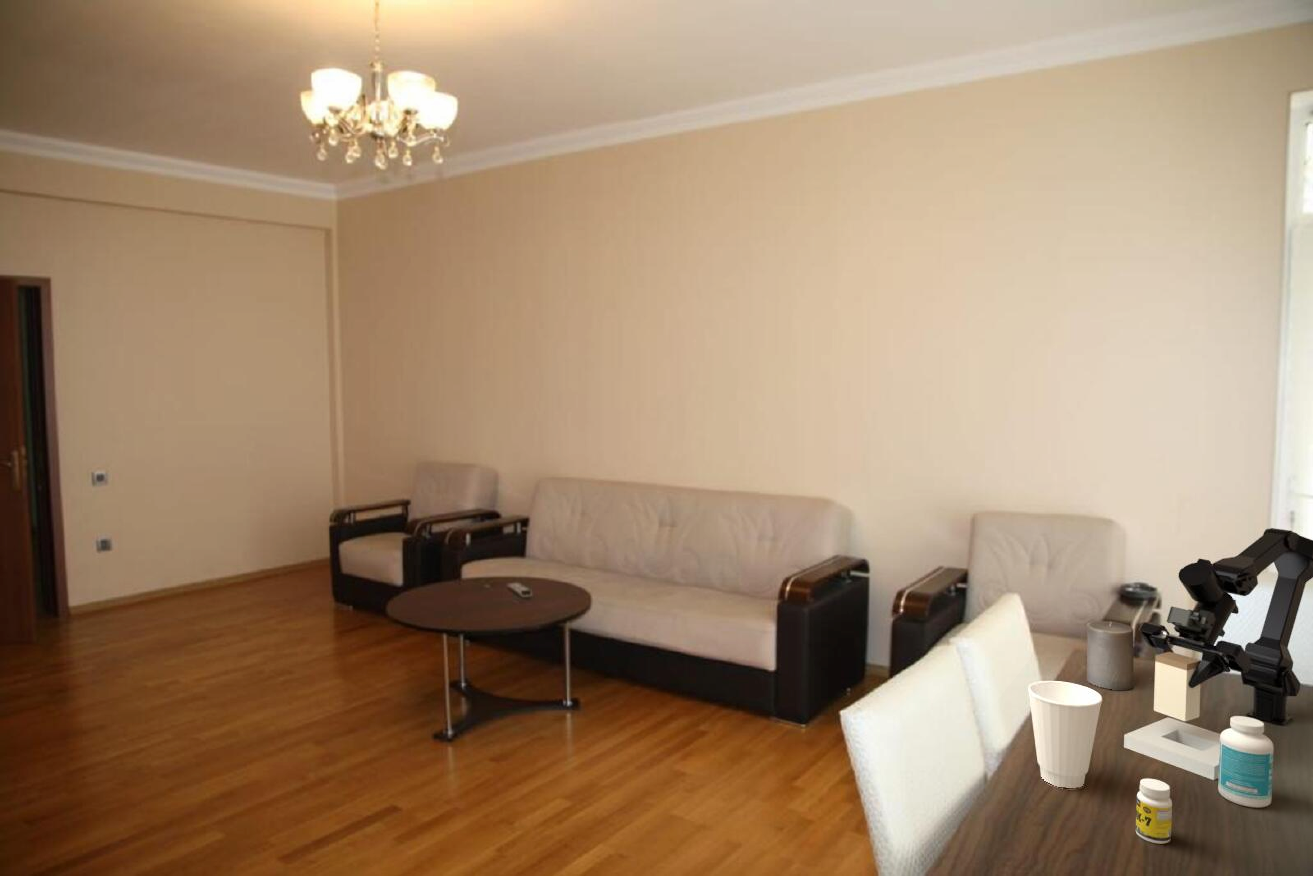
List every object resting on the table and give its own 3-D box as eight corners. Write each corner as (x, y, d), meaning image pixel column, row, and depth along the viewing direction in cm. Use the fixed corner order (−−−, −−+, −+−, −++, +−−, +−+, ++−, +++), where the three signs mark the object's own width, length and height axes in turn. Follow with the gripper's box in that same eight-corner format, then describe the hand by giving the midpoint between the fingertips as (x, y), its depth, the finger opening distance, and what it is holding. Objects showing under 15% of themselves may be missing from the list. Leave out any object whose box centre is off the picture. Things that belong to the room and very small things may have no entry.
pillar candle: (1134, 681, 198) (1135, 618, 197) (1131, 694, 190) (1132, 628, 189) (1088, 674, 203) (1088, 613, 202) (1084, 686, 195) (1084, 623, 194)
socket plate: (1167, 729, 170) (1168, 717, 170) (1256, 758, 157) (1257, 746, 157) (1123, 747, 162) (1124, 734, 162) (1213, 780, 148) (1214, 766, 148)
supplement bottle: (1128, 829, 132) (1130, 777, 132) (1156, 827, 133) (1158, 776, 132) (1149, 845, 127) (1150, 792, 127) (1178, 844, 128) (1180, 790, 127)
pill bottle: (1280, 812, 137) (1283, 732, 136) (1230, 807, 139) (1233, 728, 138) (1257, 790, 145) (1260, 714, 144) (1210, 786, 146) (1212, 711, 145)
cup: (1093, 770, 152) (1096, 684, 151) (1105, 801, 141) (1108, 708, 140) (1023, 761, 156) (1025, 677, 155) (1028, 790, 145) (1031, 700, 144)
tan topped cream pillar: (1167, 706, 165) (1169, 651, 164) (1199, 717, 159) (1201, 660, 159) (1153, 710, 163) (1155, 655, 162) (1185, 721, 157) (1187, 664, 157)
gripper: (1145, 582, 170) (1109, 643, 165) (1245, 603, 153) (1207, 672, 149) (1167, 614, 174) (1133, 675, 169) (1267, 639, 157) (1231, 707, 153)
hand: (1173, 681), depth 160 cm, fingers closed on tan topped cream pillar, 6 cm apart
